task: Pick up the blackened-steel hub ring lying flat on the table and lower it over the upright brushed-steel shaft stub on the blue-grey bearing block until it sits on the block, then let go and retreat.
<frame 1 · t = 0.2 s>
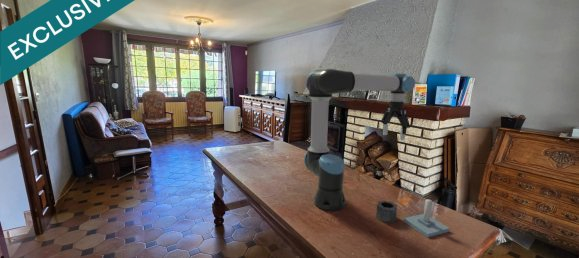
hand: (393, 137, 146), 28 cm above the table, fingers open, 13 cm apart
hub: (385, 217, 110), on the table
shaft block: (425, 226, 104), on the table
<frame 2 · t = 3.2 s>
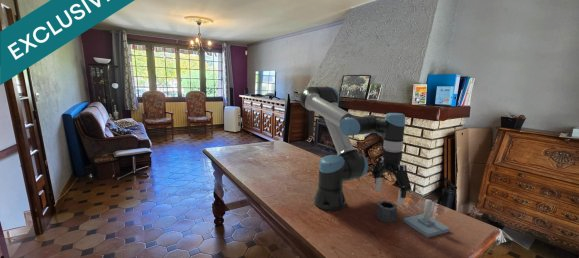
hand: (388, 197, 108), 10 cm above the table, fingers open, 13 cm apart
nothing on the table moved.
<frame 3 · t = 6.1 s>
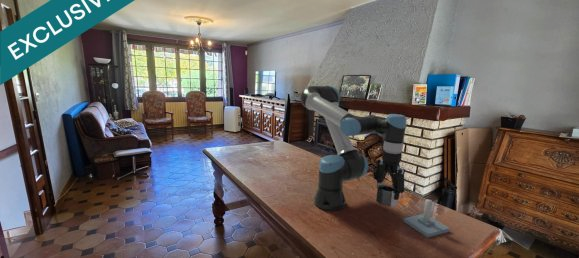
hand: (386, 200, 109), 8 cm above the table, fingers closed on hub, 8 cm apart
hub: (386, 201, 109), point 7 cm above the table, touching gripper
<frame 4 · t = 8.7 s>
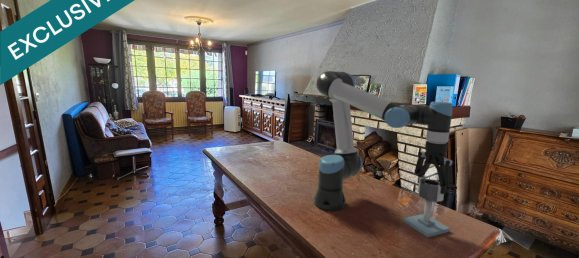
hand: (429, 195, 101), 14 cm above the table, fingers closed on hub, 8 cm apart
hub: (429, 196, 101), point 13 cm above the table, touching gripper
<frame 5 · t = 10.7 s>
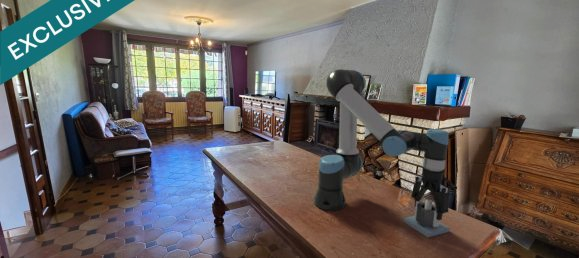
hand: (426, 220, 103), 3 cm above the table, fingers closed on hub, 8 cm apart
hub: (426, 220, 103), point 3 cm above the table, touching gripper, shaft block
when the fingers open (3 cm above the table, at t = 11.7 s): hub stays where it is, resting on shaft block.
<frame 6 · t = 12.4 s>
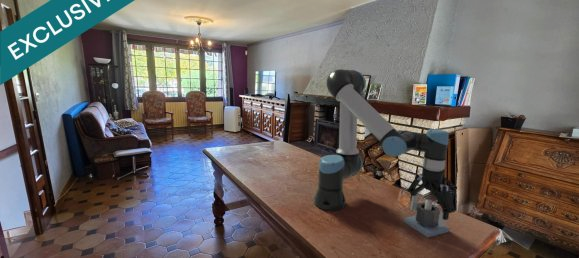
hand: (426, 217, 103), 4 cm above the table, fingers open, 13 cm apart
hub: (426, 220, 103), point 2 cm above the table, touching shaft block
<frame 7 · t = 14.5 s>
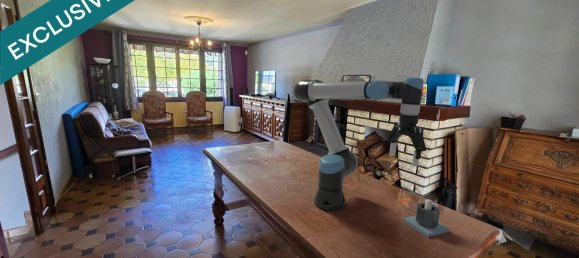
hand: (402, 160, 112), 24 cm above the table, fingers open, 13 cm apart
nothing on the table moved.
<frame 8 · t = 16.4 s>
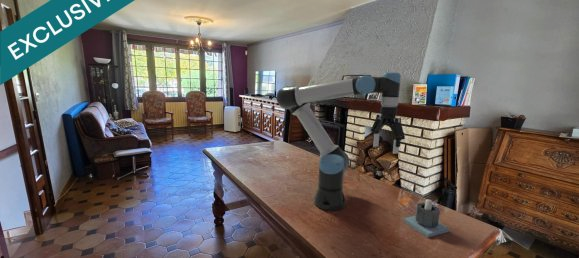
hand: (385, 149, 121), 27 cm above the table, fingers open, 13 cm apart
nothing on the table moved.
at the end: hub 0.0 cm off-centre on the shaft block, point 2.5 cm above the shaft block's base; the gripper is holding nothing; hub tilted 0° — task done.
